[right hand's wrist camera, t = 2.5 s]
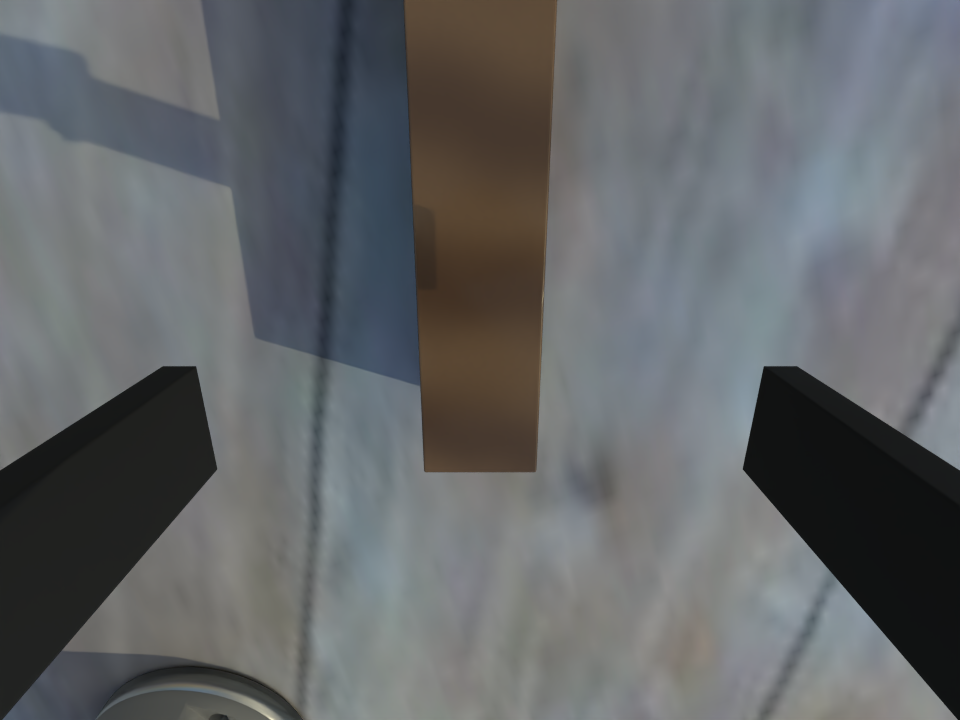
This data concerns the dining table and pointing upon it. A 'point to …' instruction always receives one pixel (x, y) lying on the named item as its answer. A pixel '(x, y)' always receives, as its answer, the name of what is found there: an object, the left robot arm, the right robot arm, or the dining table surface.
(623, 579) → the dining table surface
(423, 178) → the post
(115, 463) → the right robot arm
